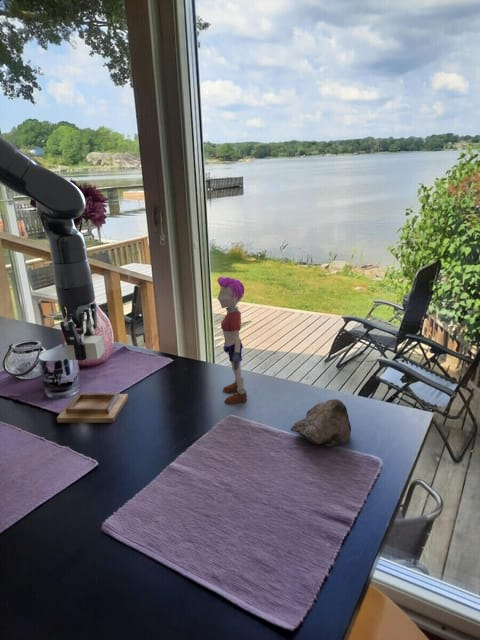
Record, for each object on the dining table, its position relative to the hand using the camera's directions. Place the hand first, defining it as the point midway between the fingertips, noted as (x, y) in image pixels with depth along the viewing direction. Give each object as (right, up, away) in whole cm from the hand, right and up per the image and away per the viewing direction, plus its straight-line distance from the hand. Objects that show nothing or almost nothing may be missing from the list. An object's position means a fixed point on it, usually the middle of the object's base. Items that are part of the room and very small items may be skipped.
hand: (85, 354), depth 99 cm
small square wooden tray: (0, -13, +5) cm, 14 cm away
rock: (+52, -17, -8) cm, 55 cm away
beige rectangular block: (0, 0, 0) cm, 0 cm away
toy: (+34, -11, +10) cm, 37 cm away
